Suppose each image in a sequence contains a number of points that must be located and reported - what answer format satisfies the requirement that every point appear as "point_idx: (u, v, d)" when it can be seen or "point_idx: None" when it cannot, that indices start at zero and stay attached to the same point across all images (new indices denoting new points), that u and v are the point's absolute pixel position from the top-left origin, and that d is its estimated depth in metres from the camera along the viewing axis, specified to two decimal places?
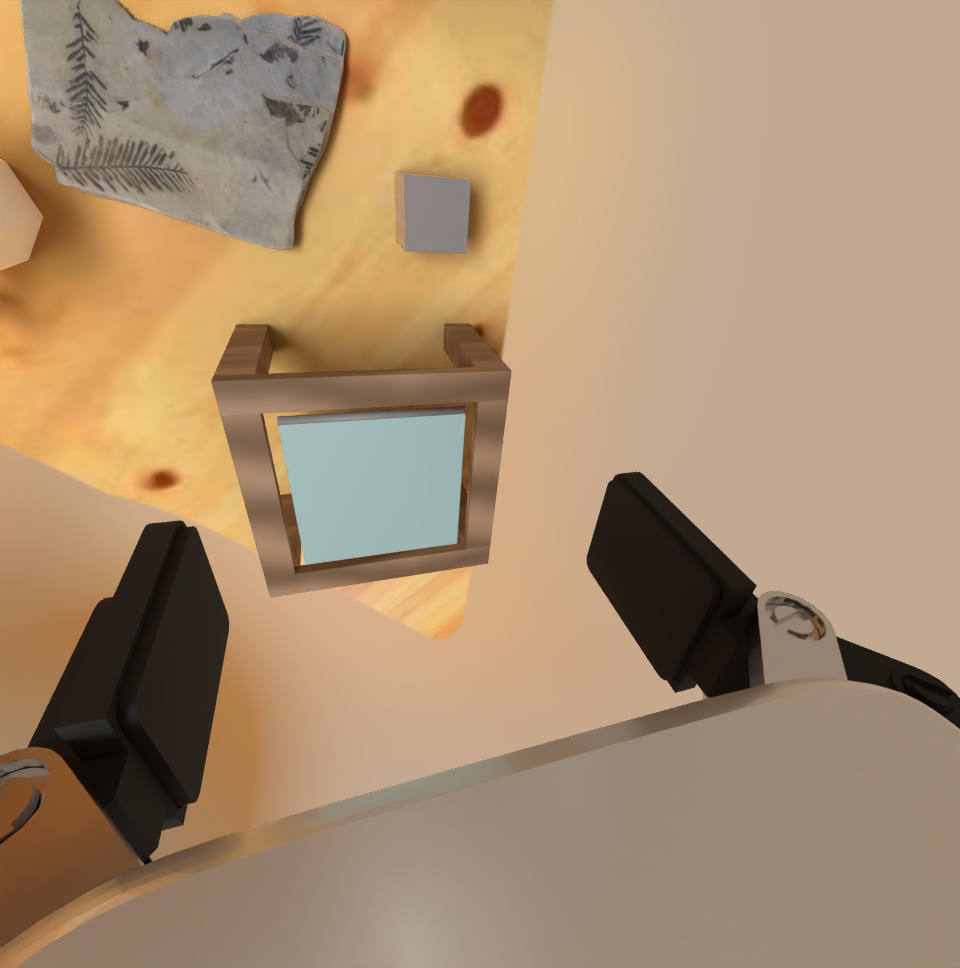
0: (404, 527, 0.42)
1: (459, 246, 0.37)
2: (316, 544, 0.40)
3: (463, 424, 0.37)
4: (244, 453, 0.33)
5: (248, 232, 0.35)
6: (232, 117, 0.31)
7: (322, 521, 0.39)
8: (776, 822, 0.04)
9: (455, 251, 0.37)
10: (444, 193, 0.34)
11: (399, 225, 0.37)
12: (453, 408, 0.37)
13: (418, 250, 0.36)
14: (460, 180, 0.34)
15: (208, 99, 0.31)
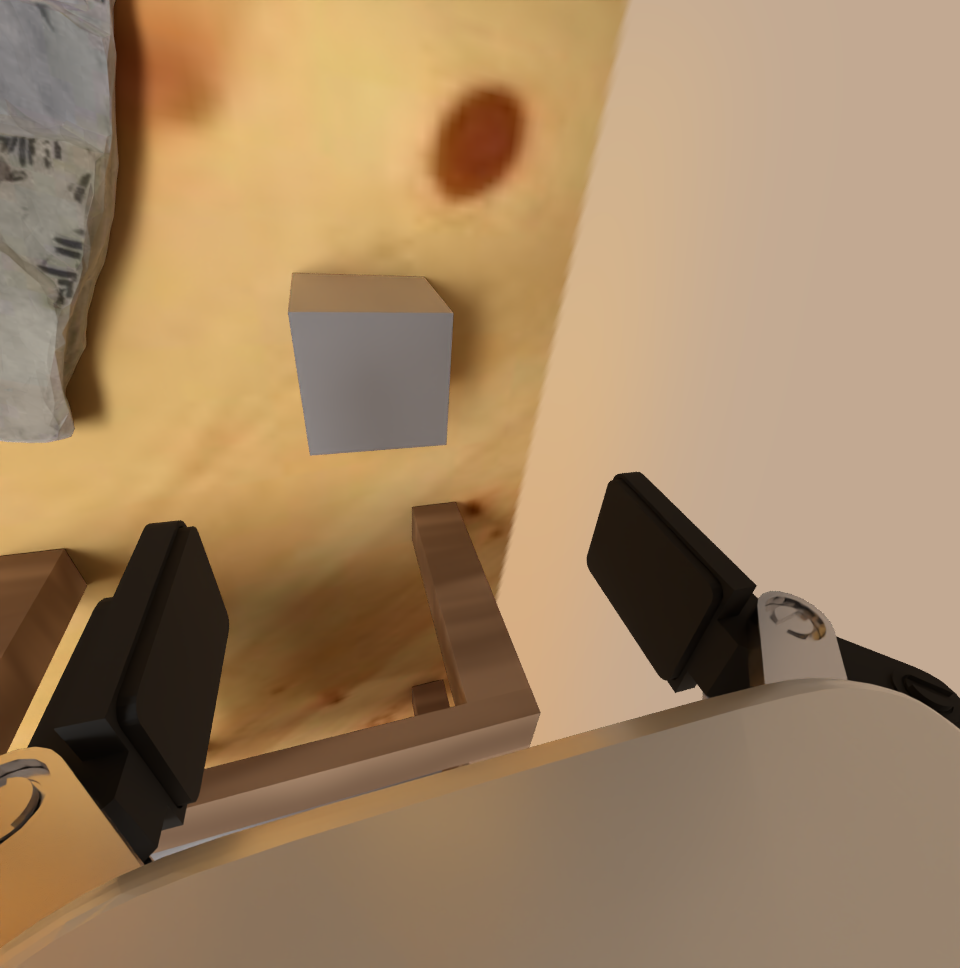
0: None
1: (431, 435, 0.17)
2: None
3: None
4: None
5: None
6: None
7: None
8: (776, 822, 0.04)
9: (422, 443, 0.17)
10: (392, 343, 0.15)
11: None
12: None
13: (340, 451, 0.17)
14: (429, 315, 0.15)
15: None
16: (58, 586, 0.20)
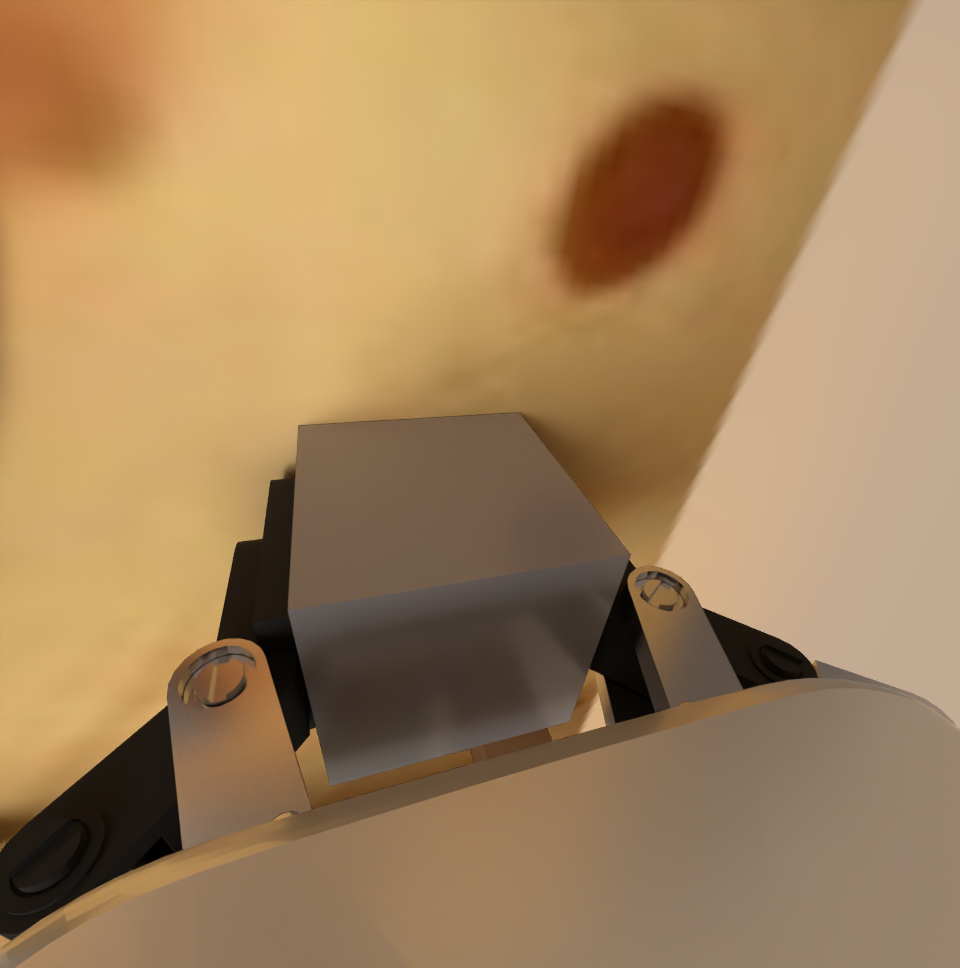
0: None
1: (547, 716, 0.10)
2: None
3: None
4: None
5: None
6: None
7: None
8: (776, 822, 0.04)
9: (530, 729, 0.10)
10: (503, 618, 0.07)
11: None
12: None
13: (386, 769, 0.09)
14: (584, 566, 0.07)
15: None
16: None
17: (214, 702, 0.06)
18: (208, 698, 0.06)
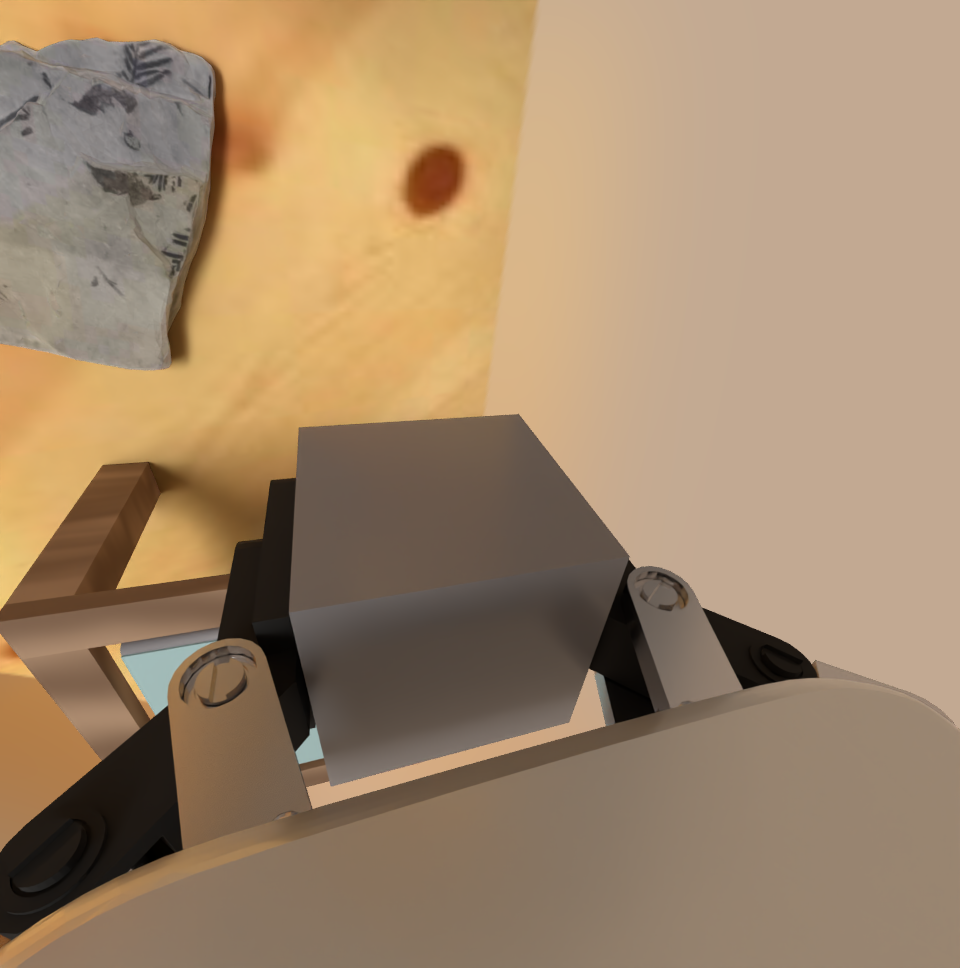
0: None
1: (546, 717, 0.10)
2: None
3: None
4: (74, 694, 0.22)
5: (98, 352, 0.24)
6: (44, 198, 0.21)
7: None
8: (776, 822, 0.04)
9: (529, 730, 0.10)
10: (503, 619, 0.07)
11: None
12: None
13: (387, 769, 0.09)
14: (583, 568, 0.07)
15: (2, 173, 0.20)
16: (145, 486, 0.29)
17: (214, 702, 0.06)
18: (209, 698, 0.06)
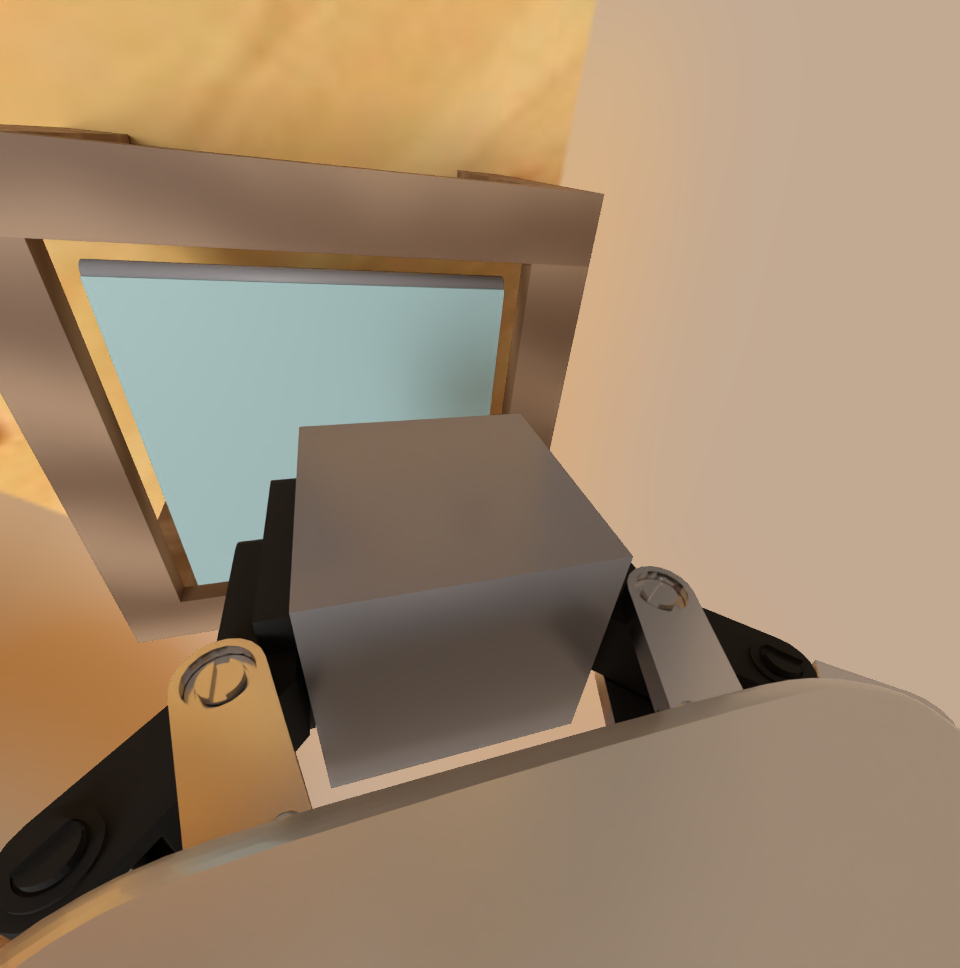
0: None
1: (549, 718, 0.09)
2: (214, 549, 0.21)
3: (499, 314, 0.19)
4: (8, 343, 0.15)
5: None
6: None
7: (221, 505, 0.20)
8: (776, 822, 0.04)
9: (531, 731, 0.10)
10: (505, 620, 0.07)
11: None
12: (480, 277, 0.18)
13: (387, 771, 0.09)
14: (586, 568, 0.07)
15: None
16: None
17: (214, 701, 0.06)
18: (208, 698, 0.06)
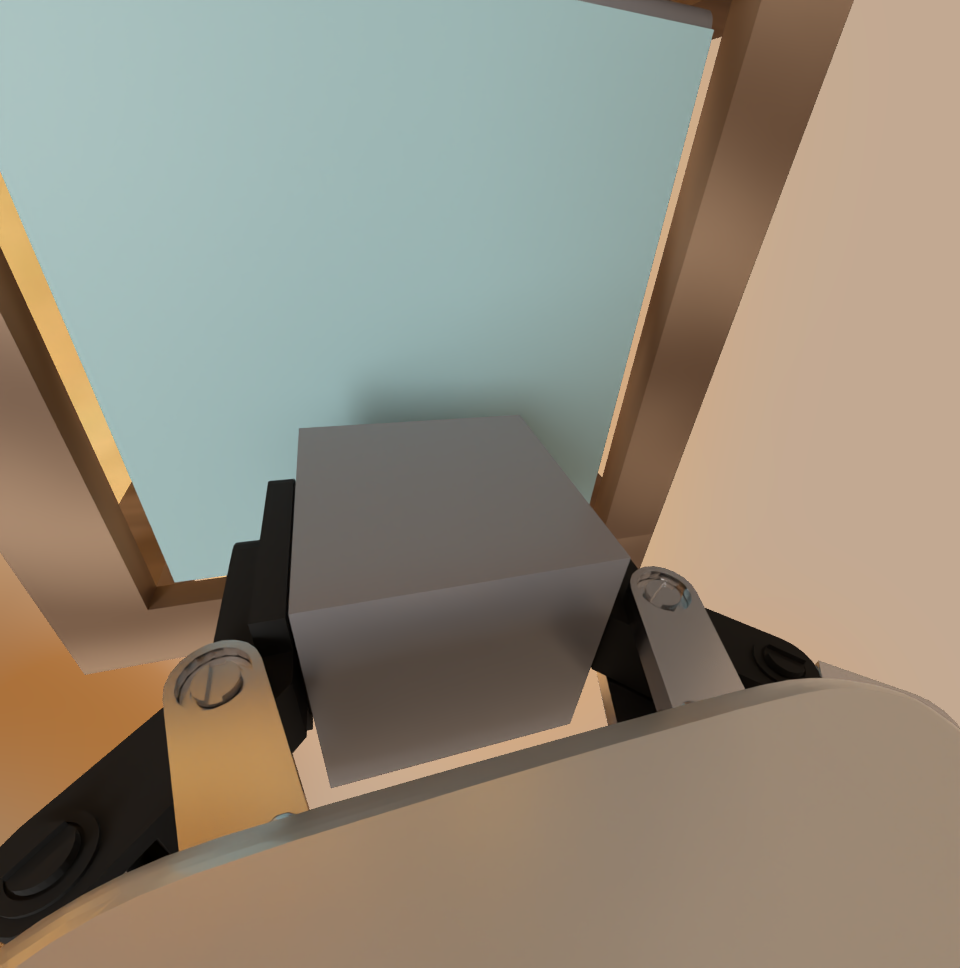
0: None
1: (547, 718, 0.10)
2: (199, 521, 0.13)
3: (694, 86, 0.10)
4: None
5: None
6: None
7: (207, 443, 0.12)
8: (776, 822, 0.04)
9: (530, 731, 0.10)
10: (504, 621, 0.07)
11: None
12: (673, 3, 0.10)
13: (387, 771, 0.09)
14: (584, 569, 0.07)
15: None
16: None
17: (210, 704, 0.06)
18: (204, 700, 0.06)
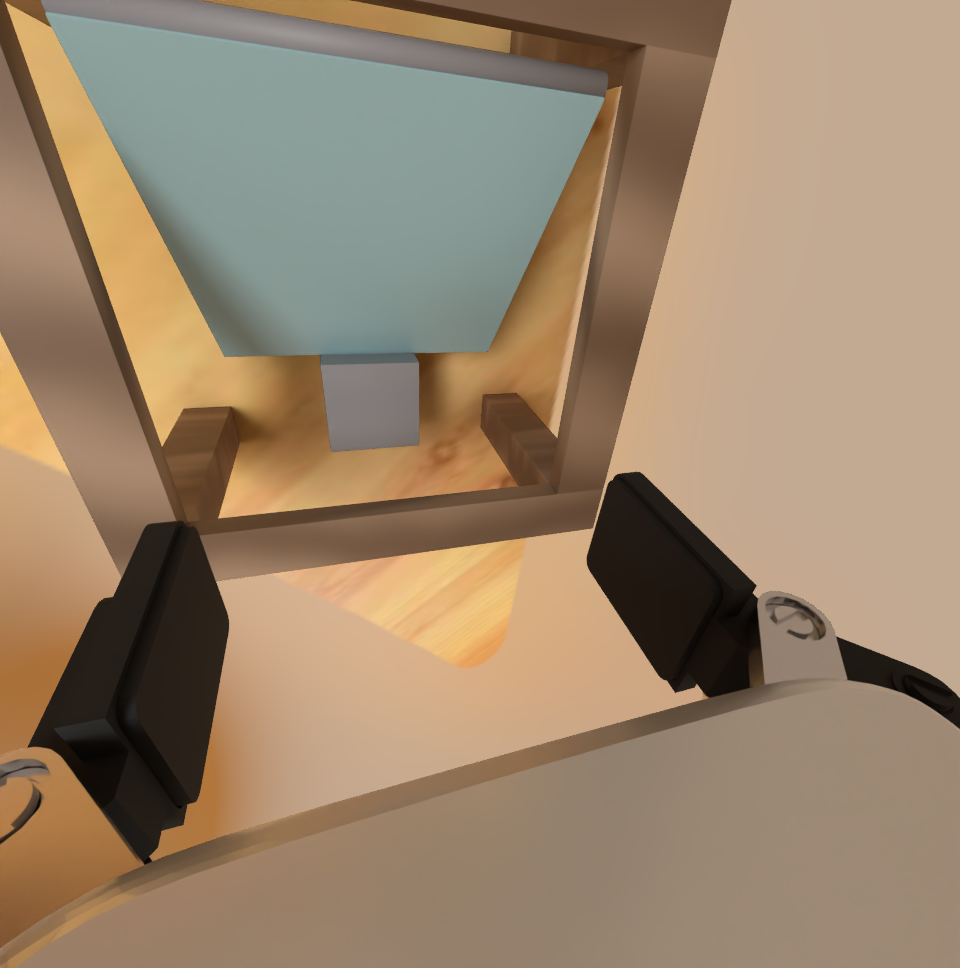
0: (405, 322, 0.23)
1: None
2: (239, 330, 0.21)
3: (587, 130, 0.15)
4: None
5: None
6: None
7: (245, 296, 0.19)
8: (776, 822, 0.04)
9: None
10: None
11: None
12: (580, 73, 0.13)
13: None
14: (405, 445, 0.27)
15: None
16: None
17: None
18: None
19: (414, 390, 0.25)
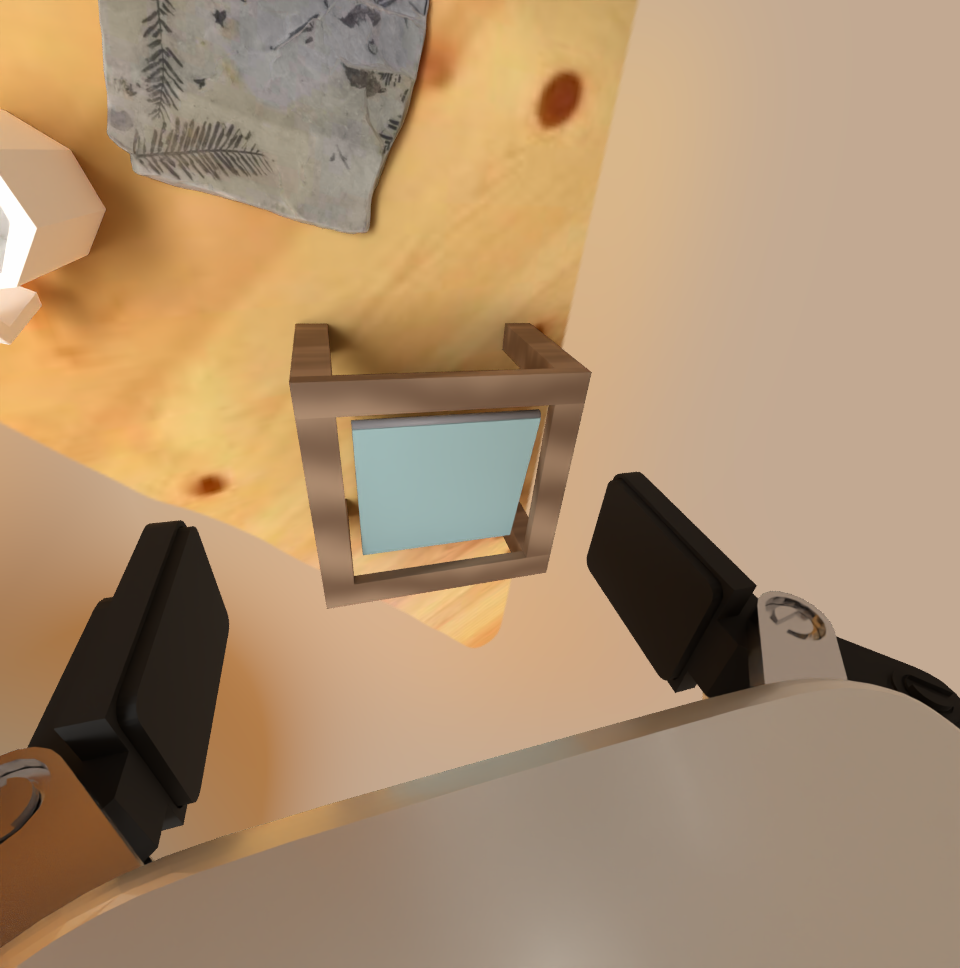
0: (462, 521, 0.41)
1: None
2: (375, 537, 0.40)
3: (536, 428, 0.36)
4: (315, 458, 0.32)
5: (324, 216, 0.33)
6: (310, 91, 0.29)
7: (384, 517, 0.38)
8: (776, 822, 0.04)
9: None
10: None
11: None
12: (528, 412, 0.35)
13: None
14: None
15: (286, 72, 0.29)
16: None
17: None
18: None
19: None
